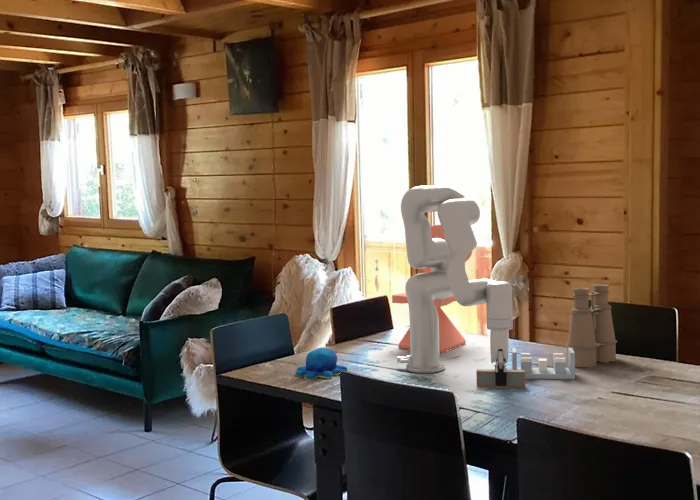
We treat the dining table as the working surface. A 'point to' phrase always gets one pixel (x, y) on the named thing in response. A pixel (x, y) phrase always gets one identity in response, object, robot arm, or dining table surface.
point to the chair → (447, 330)
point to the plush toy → (320, 365)
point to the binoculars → (591, 327)
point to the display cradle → (543, 371)
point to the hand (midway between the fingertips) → (500, 381)
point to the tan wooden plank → (488, 378)
